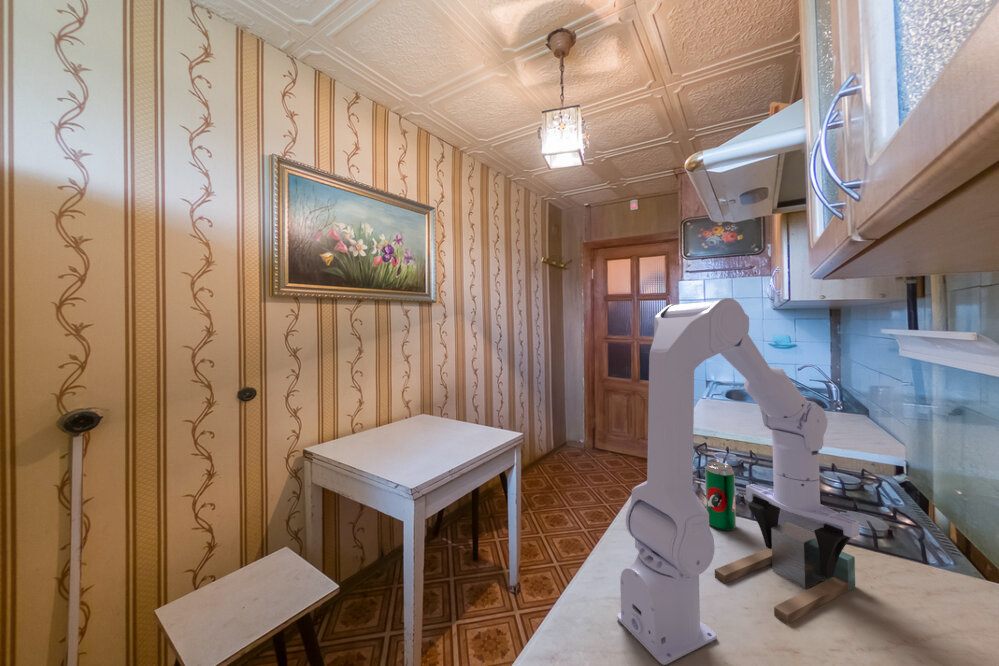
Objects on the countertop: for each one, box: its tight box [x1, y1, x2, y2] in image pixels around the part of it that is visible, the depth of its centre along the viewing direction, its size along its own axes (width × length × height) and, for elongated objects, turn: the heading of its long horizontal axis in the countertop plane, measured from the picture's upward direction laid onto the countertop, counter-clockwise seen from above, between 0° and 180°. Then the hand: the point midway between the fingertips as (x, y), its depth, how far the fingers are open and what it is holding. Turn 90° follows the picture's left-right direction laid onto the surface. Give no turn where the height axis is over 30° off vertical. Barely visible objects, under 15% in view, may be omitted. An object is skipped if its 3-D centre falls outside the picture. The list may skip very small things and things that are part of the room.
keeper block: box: [771, 521, 823, 590], centre depth 57 cm, size 4×4×7 cm
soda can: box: [704, 461, 737, 532], centre depth 72 cm, size 5×5×12 cm
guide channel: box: [714, 547, 856, 625], centre depth 55 cm, size 17×10×4 cm, turn 113°
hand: (797, 559), depth 57 cm, fingers open, 7 cm apart
